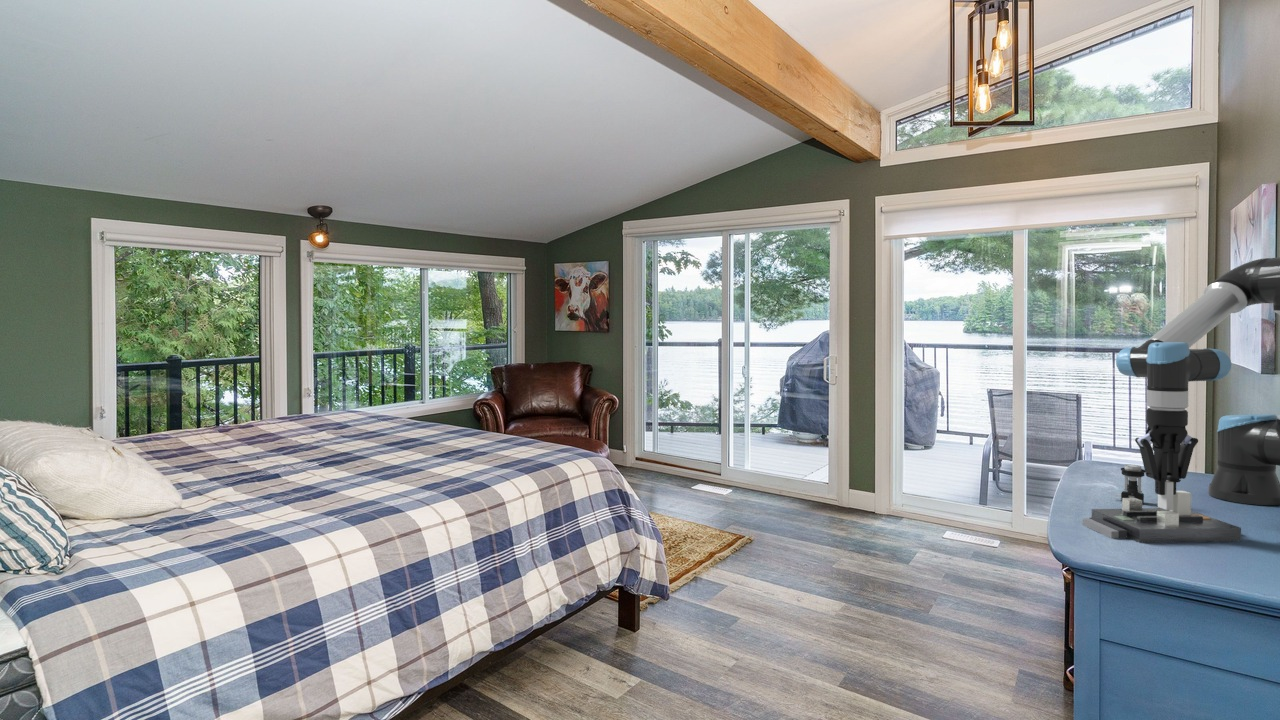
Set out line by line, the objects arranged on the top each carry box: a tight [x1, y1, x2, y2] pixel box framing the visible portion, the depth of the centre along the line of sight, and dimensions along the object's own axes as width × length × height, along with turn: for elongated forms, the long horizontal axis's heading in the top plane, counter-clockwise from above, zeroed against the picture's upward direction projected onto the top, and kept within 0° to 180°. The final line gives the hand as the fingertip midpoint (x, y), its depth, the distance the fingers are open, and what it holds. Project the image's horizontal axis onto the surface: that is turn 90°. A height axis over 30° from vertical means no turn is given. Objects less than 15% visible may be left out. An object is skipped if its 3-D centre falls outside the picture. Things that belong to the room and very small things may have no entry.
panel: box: [1091, 498, 1242, 544], centre depth 151 cm, size 22×16×6 cm
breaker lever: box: [1170, 490, 1192, 516], centre depth 151 cm, size 3×2×6 cm
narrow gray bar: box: [1082, 517, 1128, 539], centre depth 152 cm, size 3×10×2 cm, turn 178°
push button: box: [1114, 464, 1146, 505], centre depth 175 cm, size 7×5×10 cm
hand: (1165, 508), depth 151 cm, fingers closed
